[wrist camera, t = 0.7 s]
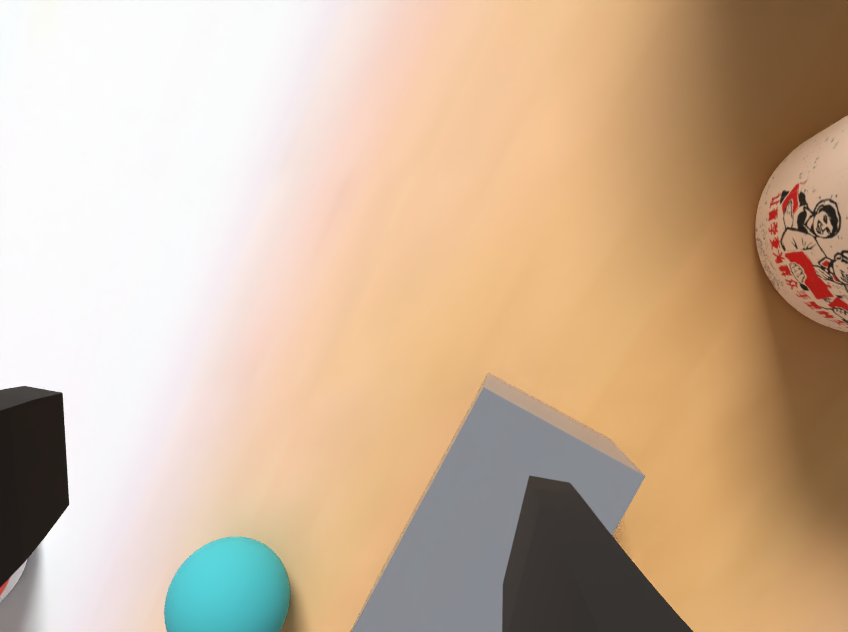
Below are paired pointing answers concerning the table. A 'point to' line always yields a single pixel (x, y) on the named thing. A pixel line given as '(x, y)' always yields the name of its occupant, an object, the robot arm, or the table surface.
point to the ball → (229, 589)
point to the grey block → (489, 511)
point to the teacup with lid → (809, 227)
